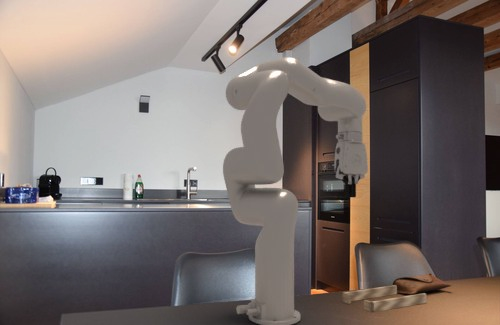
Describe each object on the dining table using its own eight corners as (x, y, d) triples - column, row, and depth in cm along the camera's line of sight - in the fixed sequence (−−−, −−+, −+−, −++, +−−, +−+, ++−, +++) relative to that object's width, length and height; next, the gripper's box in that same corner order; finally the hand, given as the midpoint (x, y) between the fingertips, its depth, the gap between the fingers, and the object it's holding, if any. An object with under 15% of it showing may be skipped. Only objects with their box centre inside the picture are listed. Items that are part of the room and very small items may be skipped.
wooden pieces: (371, 312, 111) (371, 302, 111) (342, 301, 121) (342, 292, 122) (426, 302, 120) (426, 293, 121) (394, 293, 131) (394, 285, 131)
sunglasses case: (415, 293, 125) (403, 272, 129) (400, 303, 130) (389, 283, 134) (453, 285, 134) (441, 266, 138) (438, 295, 139) (427, 276, 143)
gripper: (339, 136, 129) (339, 197, 128) (376, 139, 136) (377, 197, 135) (323, 138, 136) (324, 197, 135) (360, 141, 143) (360, 196, 142)
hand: (350, 197), depth 135 cm, fingers closed
